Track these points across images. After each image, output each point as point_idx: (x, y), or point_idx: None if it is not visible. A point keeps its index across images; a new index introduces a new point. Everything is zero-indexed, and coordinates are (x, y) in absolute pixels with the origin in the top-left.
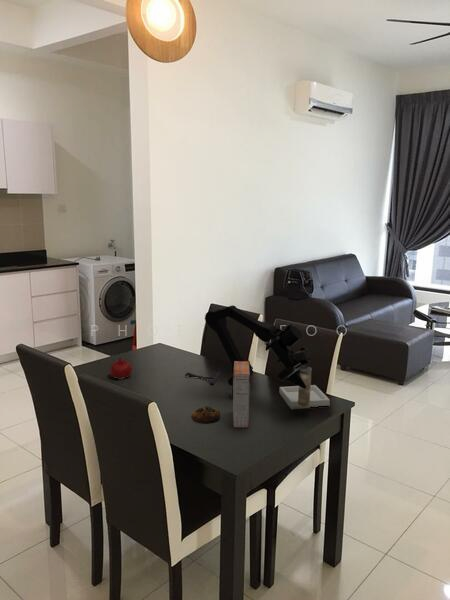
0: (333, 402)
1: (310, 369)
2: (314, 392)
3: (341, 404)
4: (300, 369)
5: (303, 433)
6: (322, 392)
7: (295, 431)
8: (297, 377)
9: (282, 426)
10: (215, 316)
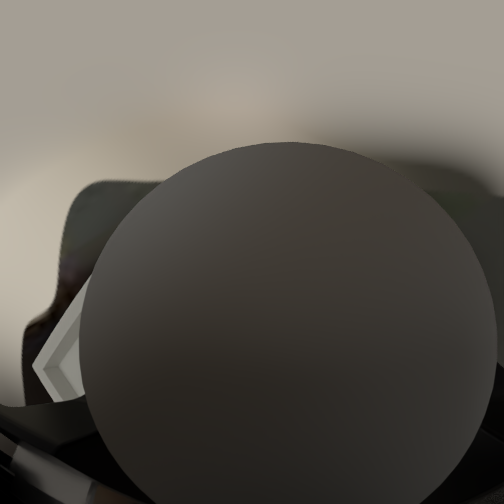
0: (97, 246)
1: (285, 154)
2: (68, 355)
3: (99, 208)
4: (434, 471)
5: (492, 200)
6: (70, 305)
7: (500, 239)
8: (496, 387)
9: (497, 316)
10: None
